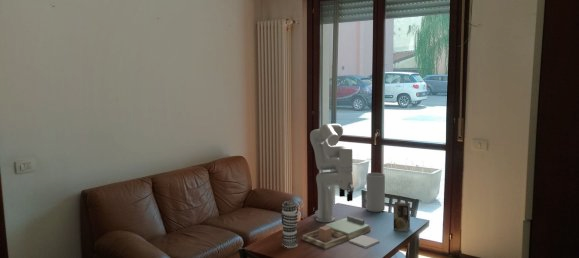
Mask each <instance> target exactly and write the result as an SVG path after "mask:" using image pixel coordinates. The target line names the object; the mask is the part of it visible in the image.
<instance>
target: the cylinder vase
mask: <svg viewBox="0 0 579 258" xmlns="http://www.w3.org/2000/svg"><path fill="white" fill-rule="evenodd" d="M385 177H386V174H385V173H382V172H369V173H366V177H365V178H366V181H365V182H366V190H365V191H366V203H365V204H366V210H367V211H369V212H372V213H380V212H384V211H385V207H386V206H385V204H386V203H385V202H386V200H385V199H386V198H385V196H386V193H385V192H386V190H385V189H386V188H385V187H386V185H385V184H386V182H385V181H386V178H385Z"/></svg>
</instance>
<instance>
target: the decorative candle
mask: <svg viewBox="0 0 579 258" xmlns="http://www.w3.org/2000/svg"><path fill="white" fill-rule="evenodd" d="M281 206H282V207H281V210H282V211H281V212H280V216H281V226H282V233H281V234H282V236H281V237H282V240H281V241H282V242H281V243H282V246H283V245H284V246H285V247H287V248H286V249H292V248H294V249H295V248H296V247H298V246H299V245H298V232H297V231H298V229H297V226H298V221H297V220H298V213H299V212H298V211H297V203H296V202H295V201H293V200H285V201H284V202H282V204H281ZM285 247H284V248H285Z"/></svg>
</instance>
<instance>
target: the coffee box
mask: <svg viewBox="0 0 579 258" xmlns="http://www.w3.org/2000/svg"><path fill="white" fill-rule="evenodd" d="M392 208H393V229H392V230H393V231H399V232H406V233H409V231H410V230H411V203H410V202H400V201H395V202H394V204H393V206H392Z"/></svg>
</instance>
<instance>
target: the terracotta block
mask: <svg viewBox="0 0 579 258" xmlns="http://www.w3.org/2000/svg"><path fill="white" fill-rule="evenodd" d="M318 229H319V235H318V240H319V241H322V242H324V243H327V242H329V241H332V235H331V228H330V227H327V226H325V225H323V226H321V227H318Z"/></svg>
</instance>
